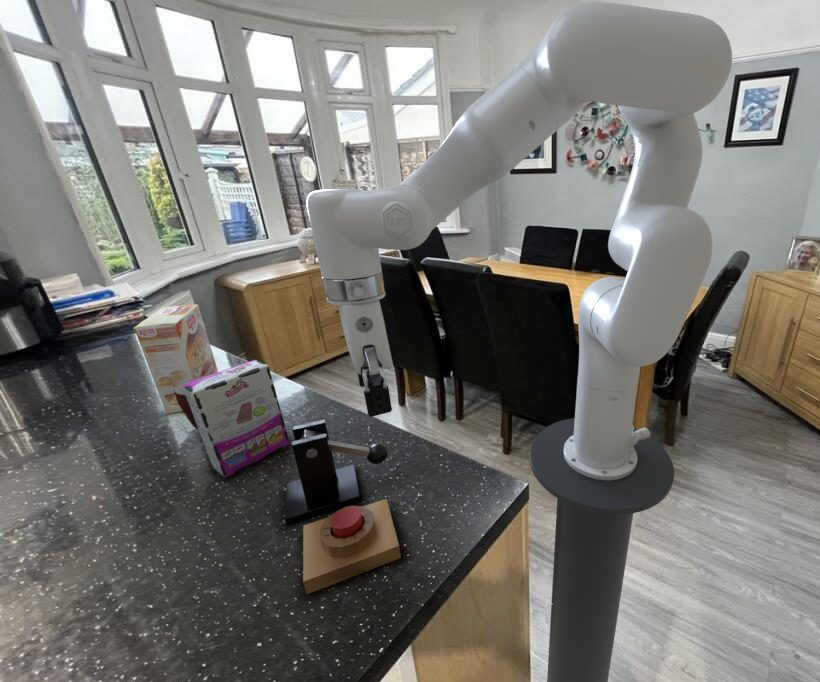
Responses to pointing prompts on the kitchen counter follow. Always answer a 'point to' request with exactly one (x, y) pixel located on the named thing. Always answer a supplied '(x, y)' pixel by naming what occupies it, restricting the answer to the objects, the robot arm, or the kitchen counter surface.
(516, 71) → the robot arm
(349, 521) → the button
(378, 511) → the button block
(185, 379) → the coffeecake box
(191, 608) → the kitchen counter surface
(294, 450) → the switch bracket
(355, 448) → the switch lever
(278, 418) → the candy bar box
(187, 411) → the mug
